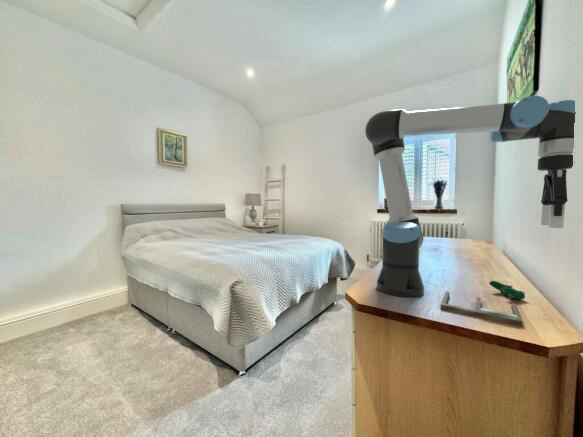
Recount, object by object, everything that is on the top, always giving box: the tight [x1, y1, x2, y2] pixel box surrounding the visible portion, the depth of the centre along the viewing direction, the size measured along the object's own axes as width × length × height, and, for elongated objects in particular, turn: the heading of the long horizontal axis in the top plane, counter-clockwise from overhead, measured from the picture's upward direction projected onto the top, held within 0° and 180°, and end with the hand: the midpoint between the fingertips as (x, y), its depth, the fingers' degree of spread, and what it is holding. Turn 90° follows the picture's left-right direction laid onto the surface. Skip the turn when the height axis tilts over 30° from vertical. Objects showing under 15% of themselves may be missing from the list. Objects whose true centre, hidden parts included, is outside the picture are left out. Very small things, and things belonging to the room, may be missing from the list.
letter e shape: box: [440, 291, 524, 327], centre depth 69 cm, size 17×14×2 cm
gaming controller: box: [488, 280, 526, 301], centre depth 79 cm, size 9×4×6 cm
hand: (550, 226), depth 75 cm, fingers open, 13 cm apart
